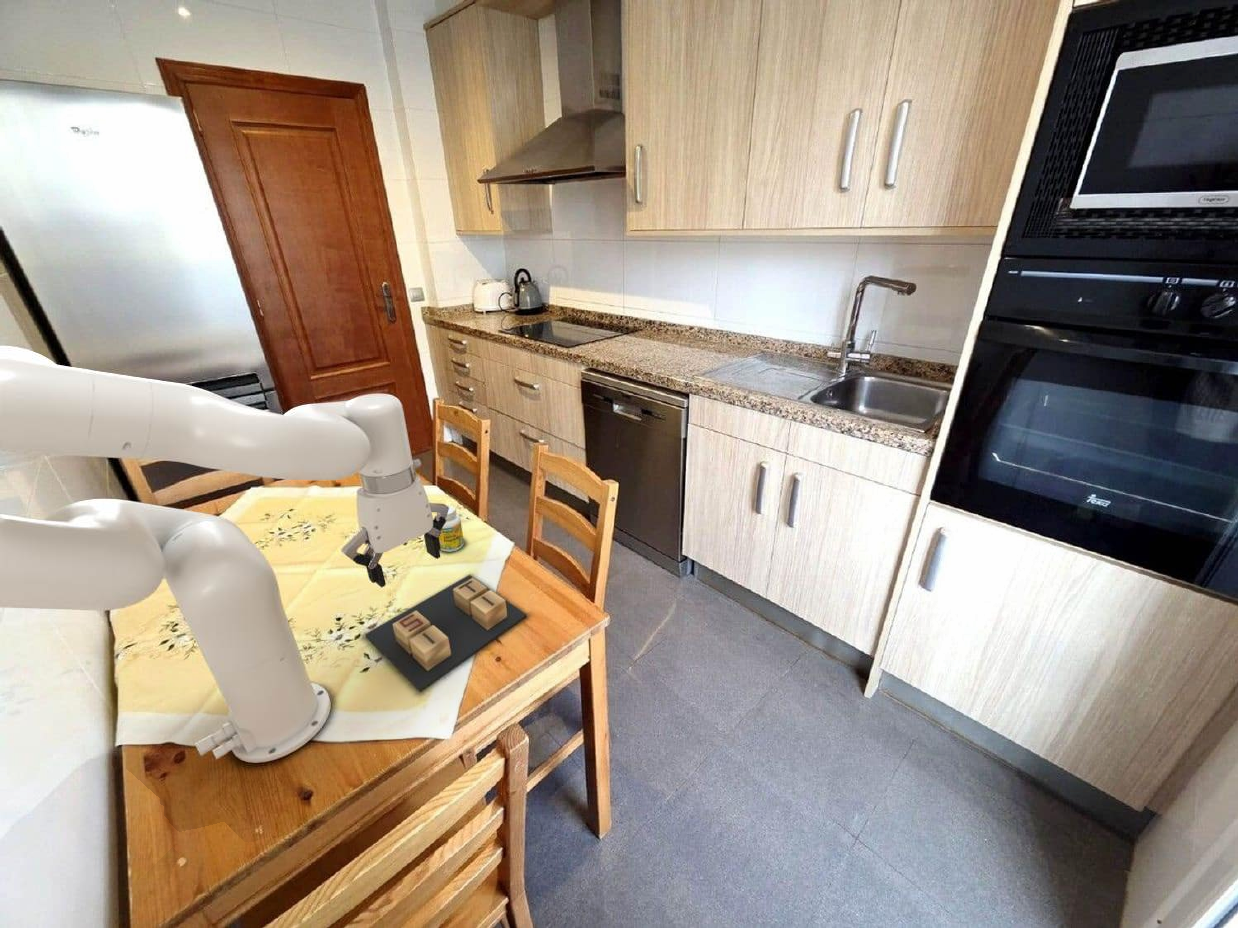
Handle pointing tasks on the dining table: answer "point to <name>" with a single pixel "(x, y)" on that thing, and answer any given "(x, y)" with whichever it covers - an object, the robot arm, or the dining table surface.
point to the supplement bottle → (451, 532)
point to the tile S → (409, 629)
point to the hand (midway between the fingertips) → (407, 568)
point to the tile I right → (488, 609)
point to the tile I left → (430, 647)
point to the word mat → (452, 623)
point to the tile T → (468, 594)
